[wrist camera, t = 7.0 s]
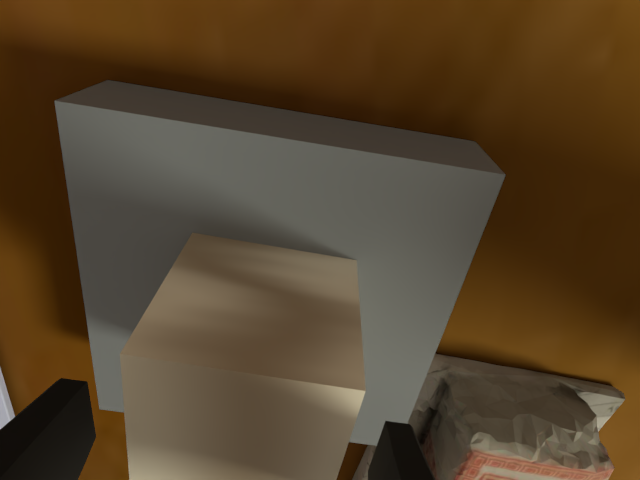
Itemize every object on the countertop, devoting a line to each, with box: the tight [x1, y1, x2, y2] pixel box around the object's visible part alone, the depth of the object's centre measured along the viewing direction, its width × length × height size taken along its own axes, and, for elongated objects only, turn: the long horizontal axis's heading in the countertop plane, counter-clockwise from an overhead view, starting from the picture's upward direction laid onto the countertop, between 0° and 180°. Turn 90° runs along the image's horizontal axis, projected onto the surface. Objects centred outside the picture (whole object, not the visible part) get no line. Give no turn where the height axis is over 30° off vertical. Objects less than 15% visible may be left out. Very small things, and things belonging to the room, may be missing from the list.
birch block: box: [120, 233, 366, 480], centre depth 12 cm, size 5×5×5 cm
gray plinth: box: [55, 80, 506, 446], centre depth 16 cm, size 12×12×3 cm
